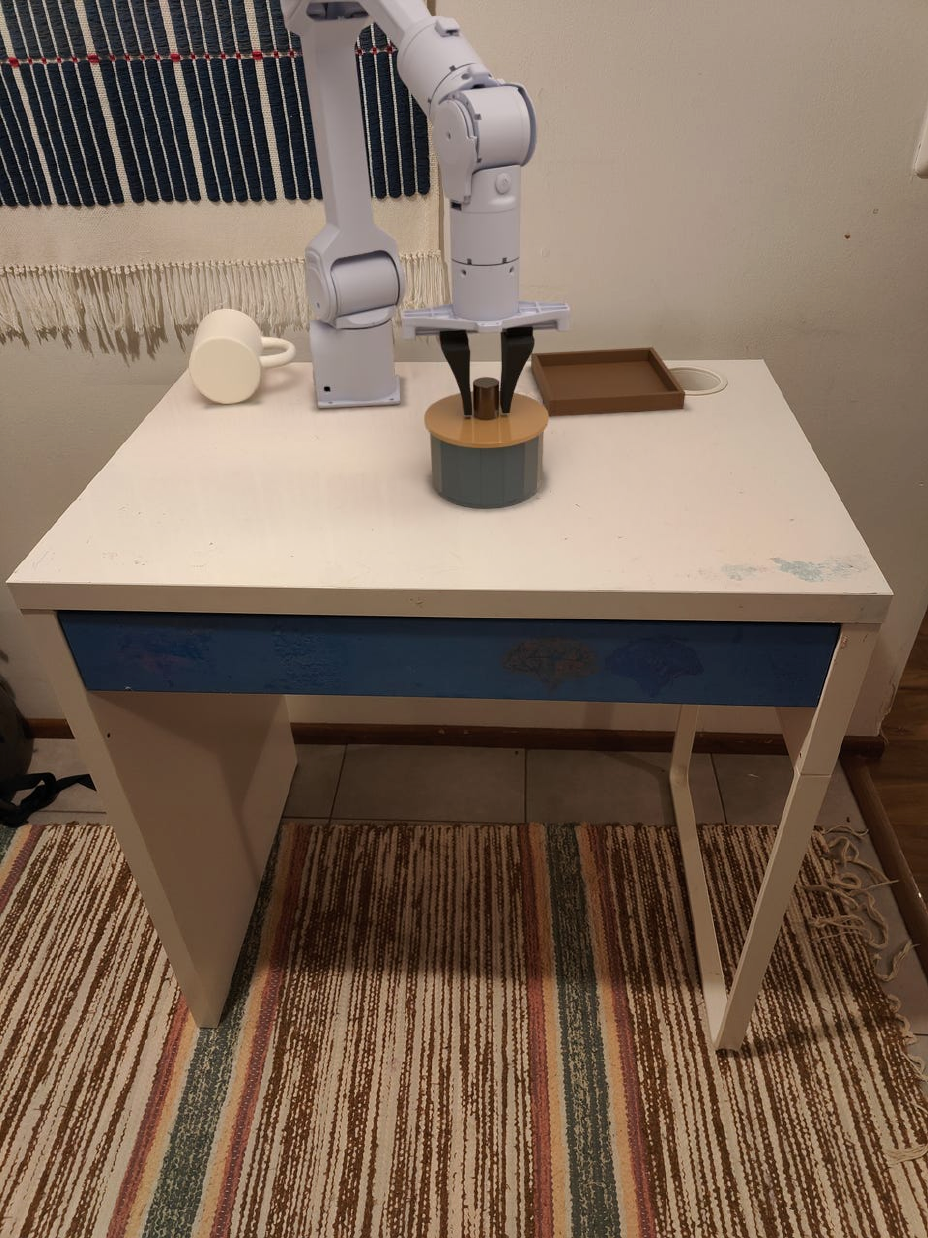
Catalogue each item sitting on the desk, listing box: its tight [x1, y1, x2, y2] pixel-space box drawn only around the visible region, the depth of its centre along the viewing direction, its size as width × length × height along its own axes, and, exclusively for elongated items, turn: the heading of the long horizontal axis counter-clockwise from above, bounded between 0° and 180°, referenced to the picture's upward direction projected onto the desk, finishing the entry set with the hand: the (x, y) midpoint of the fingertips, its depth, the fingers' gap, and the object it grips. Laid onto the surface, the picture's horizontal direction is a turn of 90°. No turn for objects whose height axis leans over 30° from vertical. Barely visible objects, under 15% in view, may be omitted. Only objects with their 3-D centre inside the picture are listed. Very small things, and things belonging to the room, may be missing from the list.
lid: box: [423, 376, 550, 448], centre depth 79 cm, size 12×12×4 cm
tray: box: [530, 346, 686, 417], centre depth 101 cm, size 15×14×2 cm
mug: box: [188, 308, 297, 405], centre depth 102 cm, size 12×10×8 cm
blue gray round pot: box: [429, 430, 545, 509], centre depth 82 cm, size 11×11×6 cm
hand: (486, 409), depth 80 cm, fingers open, 3 cm apart
